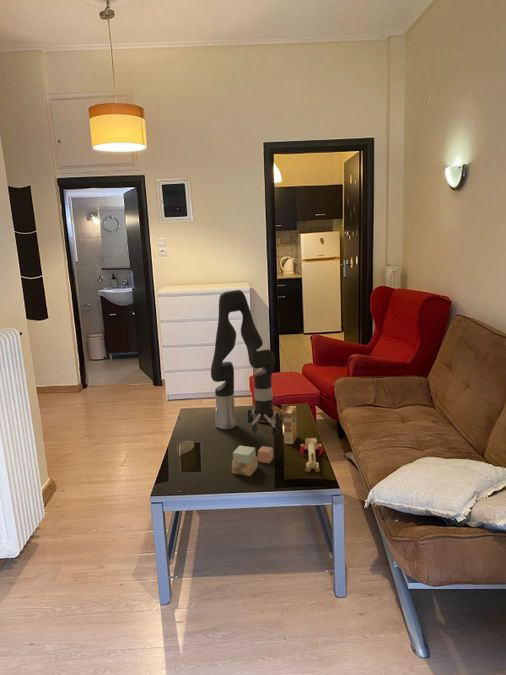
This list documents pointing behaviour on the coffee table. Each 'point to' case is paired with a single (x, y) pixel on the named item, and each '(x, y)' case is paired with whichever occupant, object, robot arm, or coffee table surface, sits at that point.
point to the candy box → (290, 425)
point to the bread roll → (274, 415)
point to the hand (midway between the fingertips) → (264, 433)
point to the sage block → (244, 454)
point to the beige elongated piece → (311, 453)
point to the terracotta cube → (265, 454)
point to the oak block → (245, 467)
